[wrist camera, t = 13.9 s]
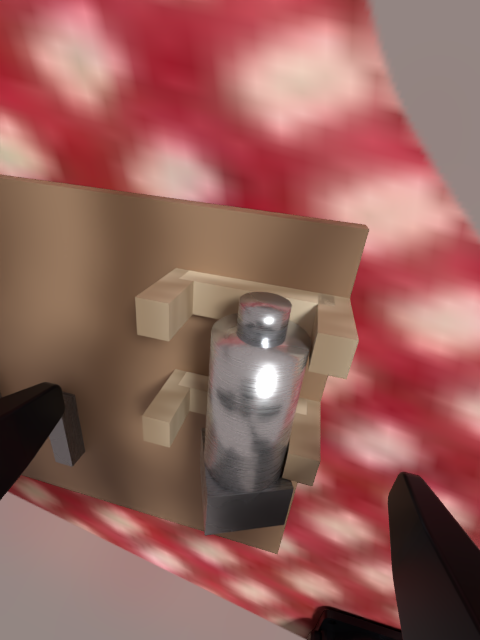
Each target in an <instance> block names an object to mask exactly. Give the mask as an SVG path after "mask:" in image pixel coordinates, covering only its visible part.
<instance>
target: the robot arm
mask: <svg viewBox="0 0 480 640" xmlns="http://www.w3.org/2000/svg"><path fill="white" fill-rule="evenodd" d="M64 412H65V402H64V397H63V393H62V388H61V387H60V385H58V384H54V383H50V382H42V383H40V384H37V385H34V386H31V387H29V388H26V389H23V390H21V391H18V392H15V393H12V394H10V395H7V396H4V397H1V398H0V500H1V499H2V497H3V496H4V495H5V494H6V493H7V491H8V490H9V489H10V488H11V487H12V485H13V484H14V483H15V482H16V480H17V479H18V478H19V477H20V476H21V474H22V473H23V472H24V471H25V469H26V468H27V467H28V465H29V464H30V463H31V461H32V460H33V459H34V457H35V456H36V454H37V453H38V451H39V450H40V448H41V447H42V445H43V444H44V443H45V441H46V440H47V438H48V437H49V435H50V434H51V432H52V431H53V429H54V428H55V426H56V425H57V423H58V422H59V421H60V419H61V418H62V416H63V414H64ZM388 513H389V529H390V544H391V560H392V573H393V581H394V588H395V594H396V600H397V606H398V612H399V619H400V625H401V631H402V633H400V632H397V631H394V630H391V629H388V628H385V627H382V626H379V625H376V624H373V623H370V622H367V621H364V620H361V619H358V618H354V617H351V616H348V615H345V614H342V613H339V612H336V611H333V610H325V611H323V613H322V616H321V618H320V620H319V622H318V624H317V626H316V628H315V630H313V631H311V632H310V634H309V636H308V639H307V640H480V550H479V548H478V547H477V546H476V545H475V543H474V542H473V541H472V540H471V538H470V537H469V536H468V535H467V533H466V532H465V531H464V530H463V528H462V527H461V526H460V525H459V523H458V522H457V521H456V520H455V518H454V517H453V516H452V515H451V513H450V512H449V511H448V510H447V508H446V507H445V506H444V505H443V503H442V502H441V501H440V500H439V498H438V497H437V496H436V495H435V493H434V492H433V491H432V490H431V488H430V487H429V486H428V485H427V483H426V482H425V481H424V480H423V479H422V478H421V477H420V476H418V475H415V474H411V473H407V472H401V473H399V475H398V476H397V478H396V480H395V482H394V484H393V486H392V488H391V490H390V493H389V496H388Z"/></svg>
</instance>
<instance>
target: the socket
mask: <svg viewBox="0 0 480 640" xmlns="http://www.w3.org/2000/svg"><path fill="white" fill-rule="evenodd" d="M62 393H63V397H64V402H65V412H64V414H63V416H62V418H61V419H60V421H59V422H58V423H57V425H56V426H55V428H54V429H53V431H52V432H51V434H50V435H49V437H50V441H51V445H52V449H53V453H54V457H55V461H56V462H58V463H61V464H65V465H68V466H71V467H73V466H74V465H75V463H76V462H77V461H78V460H79V459H80V457H81V456H82V455H83V454H84V453H85V447H84V442H83V436H82V431H81V425H80V420H79V414H78V409H77V404H76V398H75V395H74V394H70V393H67V392H63V391H62ZM1 397H2V395H1V392H0V398H1Z"/></svg>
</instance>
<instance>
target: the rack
mask: <svg viewBox="0 0 480 640" xmlns="http://www.w3.org/2000/svg"><path fill="white" fill-rule="evenodd" d="M250 292H269V293H274V294H277V295H280V296H282V297H284V298H286V299H288V300H289V301H290V302H291V304H292V308H291V313H290V318H289V320H290V321H292V322H294V323H296V324H297V325H299V326H300V327H302V328H303V329H304V330H305V331H306V332H307V334H308V335H309V337H310V340H311V347H310V351H309V368H308V371H310V372H314V373H319V374H324V375H329V376H333V377H338V378H343V379H347V376H348V373H349V369H350V366H351V363H352V360H353V357H354V354H355V351H356V347H357V344H358V341H359V340H358V335H357V330H356V326H355V321H354V316H353V312H352V307H351V303H350V298H344V297H339V296H333V295H327V294H321V293H316V292H310V291H304V290H298V289H293V288H287V287H281V286H275V285H270V284H264V283H258V282H253V281H247V280H241V279H235V278H230V277H224V276H218V275H212V274H207V273H201V272H195V271H190V270H184V269H178V268H175V269H174V270H173V271H171V272H170V273H168V274H167V275H166V276H164V277H163V278H161V279H160V280H158V281H157V282H156V283H154V284H153V285H151V286H150V287H149V288H147V289H146V290H144V291H143V292H142V293H140V294H139V295H137V296H136V297H135V305H136V321H137V335H142V336H146V337H151V338H156V339H160V340H165V341H170V340H171V339H172V337H173V336H174V335H175V334H176V333H177V332H178V331H179V329H180V328H181V327H182V326H183V325H184V324H185V322H186V321H187V320H188V319H189V318H190V317H191V315H192V314H194V315H199V316H204V317H210V318H215V319H221V318H223V317H225V316H228V315H231V314H235V313H238V310H239V300H240V297H241V296H242V295H244V294H246V293H250ZM208 378H209V377H208V376H204V375H199V374H195V373H190V372H186V371H182V370H177V369H175V370H174V372H173V373H172V375H171V376H170V377H169V379H168V380H167V382H166V383H165V384H164V386H163V387H162V389H161V390H160V391H159V393H158V394H157V396H156V397H155V398H154V400H153V401H152V403H151V404H150V405H149V407H148V408H147V410H146V411H145V412H144V414H143V415H142V422H143V439H144V441H147V442H151V443H154V444H158V445H162V446H165V447H169V448H170V446H171V444H172V443H173V441H174V439H175V437H176V435H177V433H178V431H179V429H180V428H181V426H182V424H183V422H184V420H185V418H186V416H187V415H188V413H189V411H192V412H196V413H200V414H204V415H206V413H207V396H208ZM319 464H320V402H318V401H313V400H309V399H305V398H300V397H299V399H298V403H297V408H296V412H295V416H294V421H293V425H292V429H291V434H290V438H289V442H288V447H287V451H286V455H285V460H284V467H283V475H282V478H284V479H287V480H291V481H295V482H298V483H302V484H306V485H310V486H313V482H314V479H315V476H316V473H317V470H318V467H319Z"/></svg>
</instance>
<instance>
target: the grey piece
mask: <svg viewBox="0 0 480 640" xmlns="http://www.w3.org/2000/svg"><path fill="white" fill-rule="evenodd" d="M291 308H292V304H291V302H290V301H289V300H288V299H286V298H284V297H282V296H280V295H277V294H274V293H269V292H250V293H246V294H244V295H242V296H241V297H240V300H239V310H238V313H235V314H231V315H228V316H225V317H223V318H221V319H219V320H218V321H217V322H215V324H214V325H213V327H212V330H211V343H210V361H209V378H208V396H207V413H206V428H201V448H200V474H201V488H202V502H203V517H204V531H205V535H211V534H219V533H227V532H234V531H242V530H249V529H257V528H264V527H272V526H279V525H284V524H285V520H286V516H287V513H288V509H289V505H290V501H291V498H292V494H293V490H294V488H293V485H292V482H291V480H287V479H284V478H282V475H283V467H284V460H285V455H286V451H287V447H288V442H289V438H290V434H291V429H292V425H293V421H294V416H295V412H296V408H297V403H298V399H299V395H300V390H301V386H302V382H303V377H304V373H305V368H306V364H307V360H308V355H309V351H310V347H311V340H310V337H309V335H308V334H307V332H306V331H305V330H304V329H303V328H302V327H300V326H299V325H297V324H296V323H294V322H292V321H290V320H289V318H290V313H291Z"/></svg>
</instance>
